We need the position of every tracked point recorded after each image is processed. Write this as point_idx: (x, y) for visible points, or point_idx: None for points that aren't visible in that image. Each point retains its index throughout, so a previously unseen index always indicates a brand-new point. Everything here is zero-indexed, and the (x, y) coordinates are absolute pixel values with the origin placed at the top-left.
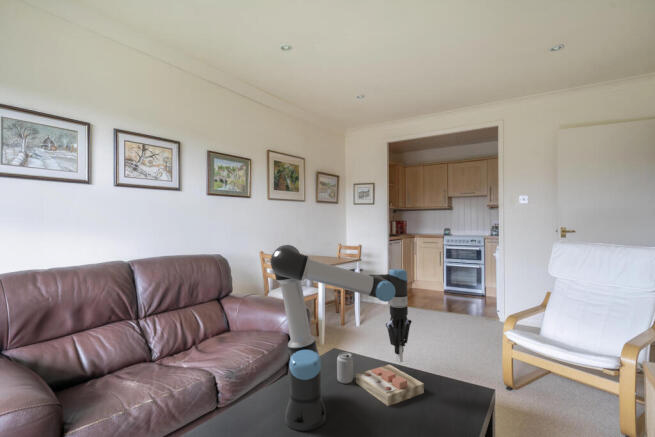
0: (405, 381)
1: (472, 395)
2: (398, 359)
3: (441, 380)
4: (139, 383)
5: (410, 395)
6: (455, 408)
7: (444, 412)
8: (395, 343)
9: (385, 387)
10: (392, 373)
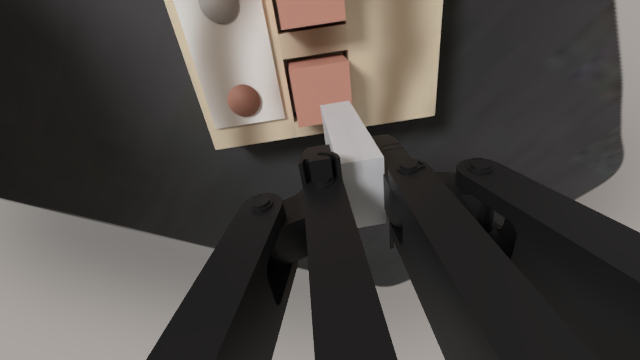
0: None
1: (543, 178)
2: (326, 143)
3: (578, 39)
4: None
5: None
6: None
7: None
8: (278, 278)
9: (232, 89)
10: (329, 4)
